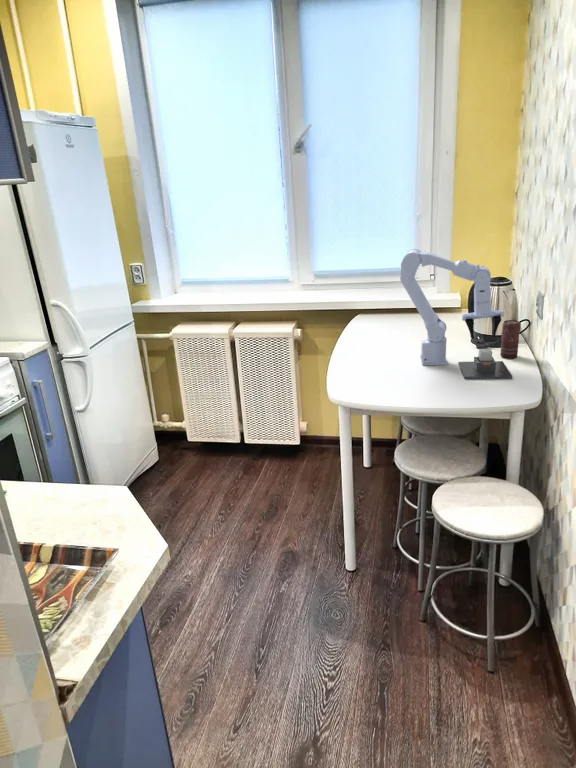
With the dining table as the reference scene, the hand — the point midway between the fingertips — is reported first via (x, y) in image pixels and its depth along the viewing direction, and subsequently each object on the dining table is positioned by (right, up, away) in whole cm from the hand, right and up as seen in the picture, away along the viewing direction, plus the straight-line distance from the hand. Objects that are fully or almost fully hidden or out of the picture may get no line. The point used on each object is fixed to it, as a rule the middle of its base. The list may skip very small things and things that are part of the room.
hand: (482, 337), depth 208 cm
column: (-1, -13, -4) cm, 13 cm away
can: (+13, -7, +9) cm, 18 cm away
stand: (-1, -13, -4) cm, 13 cm away
